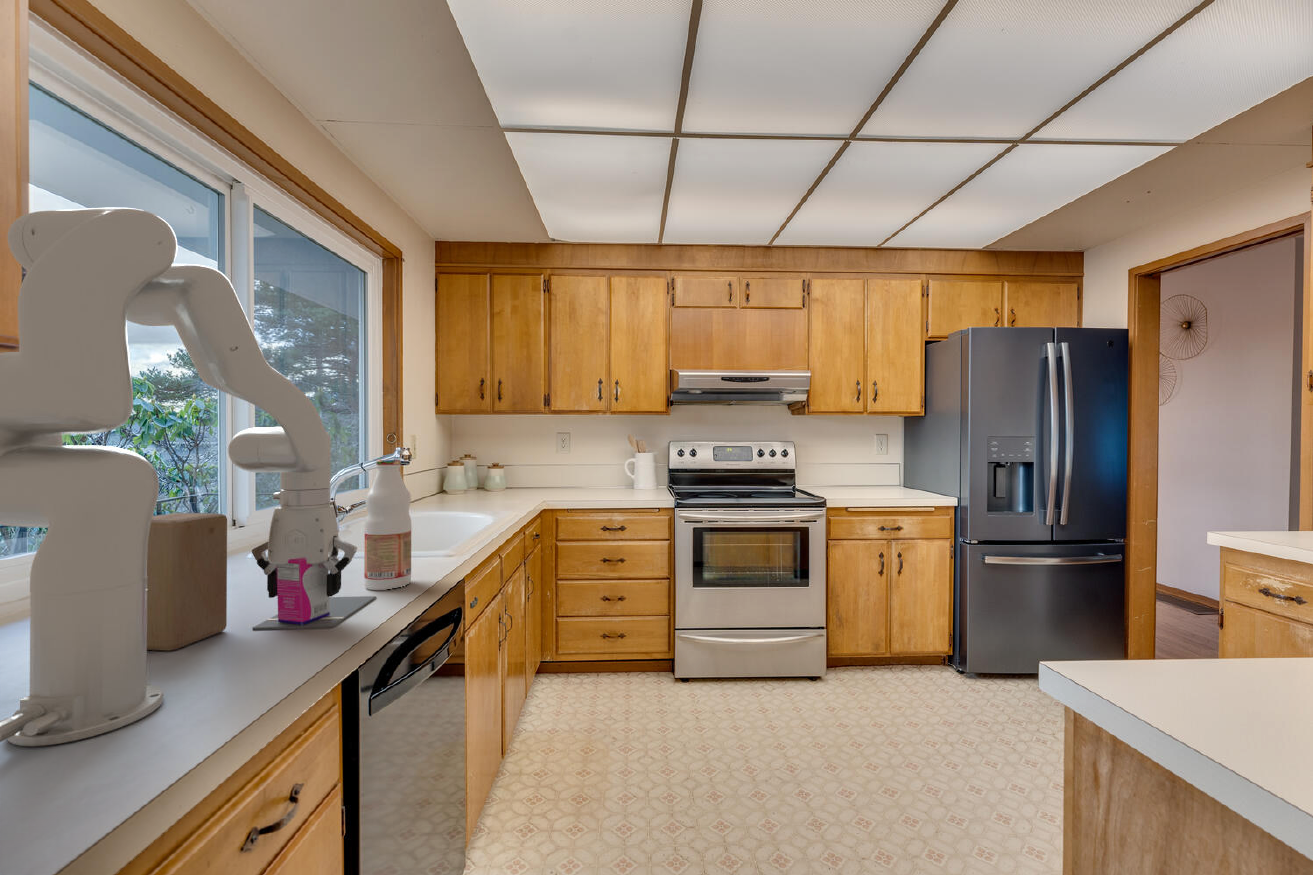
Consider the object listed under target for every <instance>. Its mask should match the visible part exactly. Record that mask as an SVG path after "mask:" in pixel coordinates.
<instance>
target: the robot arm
mask: <svg viewBox="0 0 1313 875" xmlns="http://www.w3.org/2000/svg"><path fill="white" fill-rule="evenodd" d="M6 237H7V245H8V247H9V250H10V253H11V254H12V256H13V257H14V259H15V261H17V262H18V263H19V265H20V266H21V267H22V268H23V269H24V270H26V271H27V273H26V275H24V277H23V279H22V282H21V285H20V289H19V292H18V298H17V320H18V321H17V322H18V326H17V327H18V340H19V341H18V342H19V347H18V348H19V349H18V351H9V352H8V351H7V352H0V525H1V526H5V527H6V526H7V527H17V528H44V529H45V528H46V529H47V528H48V529H47V532H46V534H45V536H44V538H43V540H41V541H42V542H41V543H40V545H39V547H38V549H37V551H36V553H35V554H34V558H33V560H32V563H31V569H30V576H29V593H30V596H29V602H30V603H29V606H30V608H29V695H27V696H24V697H23V698H21V699H19V710H17V711H15V712H14V713H13V715H12V716H10V717H8V718H4V719H2V720H0V743H2V742H3V741H5V740H7V741H8V742H10V743H11V744H13V745H15V746H21V747H41V746H43V747H44V746H45V747H46V746H52V745H57V744H58V745H59V744H60V745H61V744H64V743H70V742H74V741H80V740H84V739H87V738H91V737H95V736H99V735H101V734H105V733H109V732H111V731H115V730H118V729H120V728H122V727H126V726H128V725H129V724H132V723H135V722H137V721H138V720H141V719H143V718H144V717H147V716H148V715H150V714H151V713H153V712H154V711H156V710H157V709H158V708H160V706H161V705H162V704H163V702H164V699H165V698H164V690H163V689H162V688H161V687H159V686H157V685H151V684H147V681H148V679H147V676H148V674H147V672H148V670H147V669H148V667H147V665H148V662H147V661H148V654H147V653H148V650H147V553H148V539H149V532H150V526H151V522H152V517H153V516H154V513H155V509H156V505H157V501H158V498H159V492H160V481H159V475H158V473H157V471H156V469H155V468H154V466H153V465H152V463H150V461H148V459H146V458H145V457H144V456H142V455H140V454H138V453H137V452H134V451H132V450H128V449H126V448H120V447H116V446H107V445H106V446H105V445H64V443H63V442H64V441H63V435H90V434H91V435H93V434H100V433H106V432H110V431H113V430H117V429H119V428H120V427H121V426H123V425H124V424H126V423H127V422H128V420H129V418H130V417H131V415H132V412H133V408H134V391H133V389H134V388H133V380H132V371H131V370H132V369H131V361H130V350H129V343H128V326H127V324H128V323H127V322H130V323H133V324H137V325H140V326H145V327H170V326H171V327H173V328H174V330H175V331H176V334H177V335H178V337H179V339H180V341H181V343H182V345H183V346H184V349H185V351H186V352H187V355H188V357H189V358H190V360H191V362H192V364H193V367H194V368H195V370H196V372H197V374H198V376H199V378H200V379H201V381H202V382H203V383H205V384H206V385H208V386H209V387H211V388H214V389H216V390H218V391H220V392H223V393H224V394H227V395H230V396H232V397H235V398H238V399H240V400H242V401H244V402H248V403H249V404H252V405H254V406H255V407H258V408H259V409H261V410H262V411H263V412H265V413H267V415H269V416H270V417H271V418H273V419H274V420H275V422H276V423H277V424H278V425H279V426H274V427H267V426H266V427H260V426H259V427H251V428H250V427H249V428H247V429H244V430H241V431H239V432H238V433H237V434H235V435H234V436H232V439H231V440H230V442H229V444H228V449H227V450H228V457H229V459H230V461H231V462H232V463H233V464H234V465H235V466H236V467H237V468H239V469H241V470H243V471H244V472H245V471H246V472H250V473H256V474H259V473H260V474H261V473H262V474H277V473H279V474H280V489H279V492H274V493H273V495H272V499H273V500H275V501H278V502H279V507H275V508H274V511H273V512H272V513H273V514H272V518H271V522H270V527H269V535H268V541H266V542H264V543H262V544H260V545H259V546H258V545H257V547H254V548H253V549H251V554H252V555H253V557H254V559H255V561H256V564H257V566H258V567H260V568H261V569H262V571H263V573H264V575H266V577H267V578H266V579H267V580H266V582H267V583H266V584H267V585H266V586H267V592H268V598H269V599H272V598H275V597H278V596H277V565H285V564H288V560H289V559H301V558H305V559H306V563H307V564H308V565H316V564H322V563H323V564H324V565H325V567H326V568H327V569H328V570H329V574H328V575H327V596H328V597H334V596H335V595H337V594H338V593H340V590H341V588H342V571H343V570H344V569H345V568H346V567H347V566H348V565H349V564H350V563H351V562H352V561H353V558H354V556H356V553H357V550H358V547H357V545H353V544H352V543H349V542H347V541H345V540H343V539H341V538H339V529H338V528H339V527H338V526H339V525H338V521H337V520H338V519H337V515H336V511H335V506H334V505H331V464H332V463H331V459H332V458H331V456H332V455H331V451H332V450H331V449H332V448H331V447H332V441H331V439H332V438H331V435H330V433H329V432H327V431H326V428H325V426H324V423H323V422H322V419H321V416H320V413H319V412H318V410H317V408H316V406H315V405H314V403H313V402H312V401H311V400H310V398H309V397H308V396H307V395H306V394H305V393H304V392H303V391H302V390H301V389H300V388H299V387H297V385H295V384H294V383H293V382H292V381H291V380H290V379H288V378H287V377H286V376H284V375H283V374H282V373H281V372H279V371H277V370H276V369H275V368H274V367H272V366H271V365H270V364H269V363H268V361H267V360H266V358H265V355H264V354H263V351H262V349H261V347H260V345H259V341H258V340H257V337H256V335H255V333H254V331H253V329H252V327H251V324H250V322H249V320H248V317H247V314H246V313H245V311H244V309H243V306H242V304H241V302H240V299H239V296H238V295H237V293H236V290H235V288H234V287H233V284H232V283H231V281H230V280H229V278H228V277H227V276H226V275H225V274H224V273H222V272H221V271H219V270H218V269H216V268H213V267H210V266H206V265H202V264H201V265H200V264H191V263H190V264H189V263H174V262H175V259H176V257H177V254H178V253H177V252H178V240H177V236H176V234H175V231H174V230H173V228H172V227H171V225H170V224H169V222H167V221H166V220H165V219H163V218H162V217H160V216H158V214H155V213H152V212H150V211H146V210H143V209H140V208H139V209H137V208H131V207H91V208H79V209H58V210H57V209H56V210H54V209H53V210H39V211H34V212H30V213H29V212H28V213H26V214H24V215H21V216H20V217H18V218H17V219H16V220H14V221H13V222H12V223H11V224H10V226H9V228H8V232H7V236H6ZM339 551H343V552H344V555H343V557H342V558H341V559H339V558H338V556H339ZM266 553H267V554H266Z"/></svg>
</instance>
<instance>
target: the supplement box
mask: <svg viewBox="0 0 1313 875" xmlns="http://www.w3.org/2000/svg"><path fill="white" fill-rule="evenodd" d="M329 573H330V571H329V570H328V569H327V568H326V567H325V565H324V564H323V563H322V564H316V565H308V564H307V563H306V559H305V558H301V559H289V560H288V564H285V565H277V596H276V597H277V614H278V622H282V623H289V624H296V625H305V624H307V623H310V622H313V621H315V620H318V619H320V618H323V617H326V616H328V615H330V602H329V597H328V596H327V575H328V574H329Z"/></svg>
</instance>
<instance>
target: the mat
mask: <svg viewBox="0 0 1313 875" xmlns="http://www.w3.org/2000/svg"><path fill="white" fill-rule="evenodd" d="M375 598H376V599H377V595H368V596H365V595H363V596H331V597H329V602H330V615H328V616H326V617H323V618H320V619H318V620H315V621H313V622H310V623H307V624H305V625H296V624H289V623H282V622H278V613H277V614H276V615H274V616H272V617H270V618H267V619H265V620H264V621H263V622H261V623H259V624H256V625H255V626H253V627H252V631H261V630H262V631H263V630H264V631H266V630H271V631H272V630H301V629H302V630H305V629H308V630H309V629H311V630H312V629H332V628H333V629H334V627H336V626H338V625H339V624H340V623H342V622H343V621H345V620H346V619H348V618H350V617H351V616H352V615H354V614H355V613H357V612H358V611H359V610H361V609H363V608H364V607H365V606H367V605H368V604H370V603H371V602H373V601H374V600H376V599H375ZM373 599H374V600H373ZM372 600H373V601H372Z"/></svg>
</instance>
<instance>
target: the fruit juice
mask: <svg viewBox="0 0 1313 875" xmlns="http://www.w3.org/2000/svg"><path fill="white" fill-rule="evenodd" d="M401 465H402V462H401V459H377V460H376V468H377V471H376V475H375V478H374V480H373V483H372V485H371V487H370V489H369V491H368V492H367V493H366V496H365V502H364V503H365V507H366V510H367V516H366V518H365V522H364V558H363V559H364V564H363V565H364V567H363V568H364V574H363V575H364V579H363V580H364V581H363V582H364V587H365V588H366V589H367V590H369V591H388V590H387V589H391V590H393V589H392V588H396V587H401V586H404V585H406V584H408V583H411V581H412V527H413V526H412V519H411V515H410V512H409V509H410V506H411V501H412V499H411V498H412V497H411V496H412V495H411V493H410V491H409V490H408V488H407V486H406V485H405V482H404V479H403V477H402V473H401V472H400V468H401ZM404 587H405V586H404ZM401 588H402V587H401Z"/></svg>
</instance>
